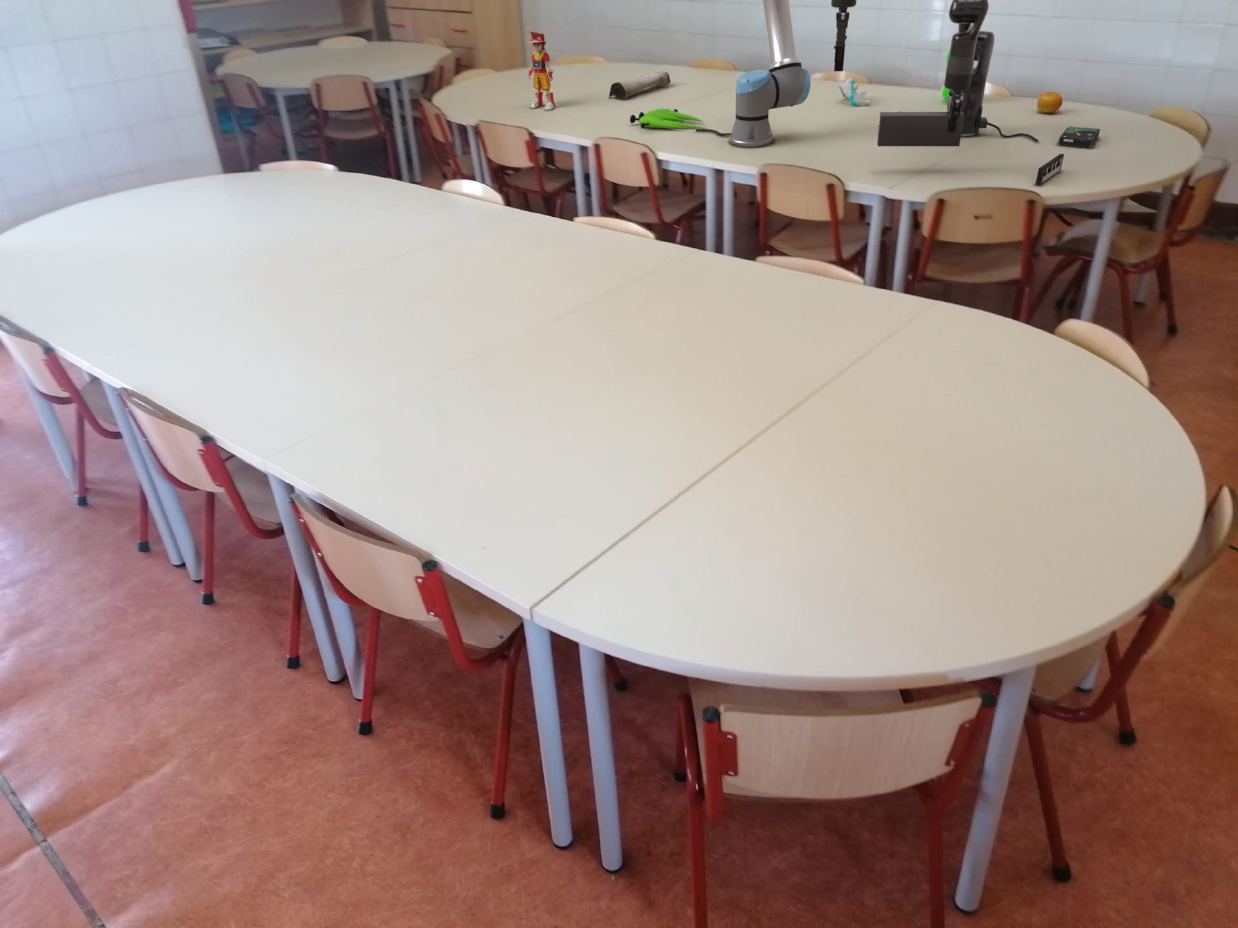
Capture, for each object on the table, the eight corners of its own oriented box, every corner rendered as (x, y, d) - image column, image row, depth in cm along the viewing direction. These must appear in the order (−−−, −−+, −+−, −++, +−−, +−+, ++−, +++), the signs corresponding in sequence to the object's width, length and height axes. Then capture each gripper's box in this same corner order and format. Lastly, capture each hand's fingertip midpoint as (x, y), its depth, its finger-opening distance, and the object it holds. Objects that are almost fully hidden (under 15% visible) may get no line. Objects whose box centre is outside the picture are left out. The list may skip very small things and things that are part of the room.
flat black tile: (1039, 185, 269) (1043, 168, 266) (1035, 184, 270) (1038, 168, 267) (1060, 170, 279) (1064, 154, 277) (1056, 169, 280) (1060, 153, 277)
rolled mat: (651, 76, 408) (662, 61, 399) (662, 93, 408) (674, 79, 400) (605, 92, 391) (616, 77, 383) (617, 110, 391) (628, 95, 383)
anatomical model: (834, 77, 364) (859, 70, 363) (837, 103, 370) (861, 96, 369) (845, 85, 351) (870, 78, 351) (847, 112, 357) (872, 105, 357)
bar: (957, 142, 282) (962, 111, 277) (959, 146, 278) (964, 115, 273) (877, 142, 287) (880, 112, 281) (877, 146, 283) (880, 116, 278)
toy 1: (525, 109, 381) (517, 32, 364) (534, 104, 388) (527, 28, 371) (550, 110, 377) (543, 32, 360) (559, 105, 384) (553, 28, 367)
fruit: (1033, 104, 332) (1048, 84, 329) (1031, 108, 340) (1046, 88, 337) (1052, 117, 331) (1068, 97, 327) (1050, 120, 338) (1065, 100, 335)
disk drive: (1091, 148, 296) (1098, 136, 306) (1093, 140, 295) (1100, 128, 305) (1057, 145, 301) (1065, 133, 311) (1059, 137, 299) (1067, 125, 310)
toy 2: (619, 127, 344) (687, 140, 332) (619, 113, 342) (688, 126, 329) (655, 115, 365) (720, 127, 352) (656, 102, 362) (722, 114, 350)
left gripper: (832, -14, 284) (827, 58, 296) (831, -2, 264) (825, 75, 276) (856, -14, 283) (850, 58, 295) (857, -2, 263) (850, 75, 275)
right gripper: (975, 76, 262) (965, 136, 272) (969, 65, 273) (960, 123, 283) (948, 76, 263) (939, 136, 273) (944, 66, 275) (935, 123, 285)
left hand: (838, 66), depth 285 cm, fingers open, 13 cm apart
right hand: (950, 129), depth 278 cm, fingers closed on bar, 4 cm apart
